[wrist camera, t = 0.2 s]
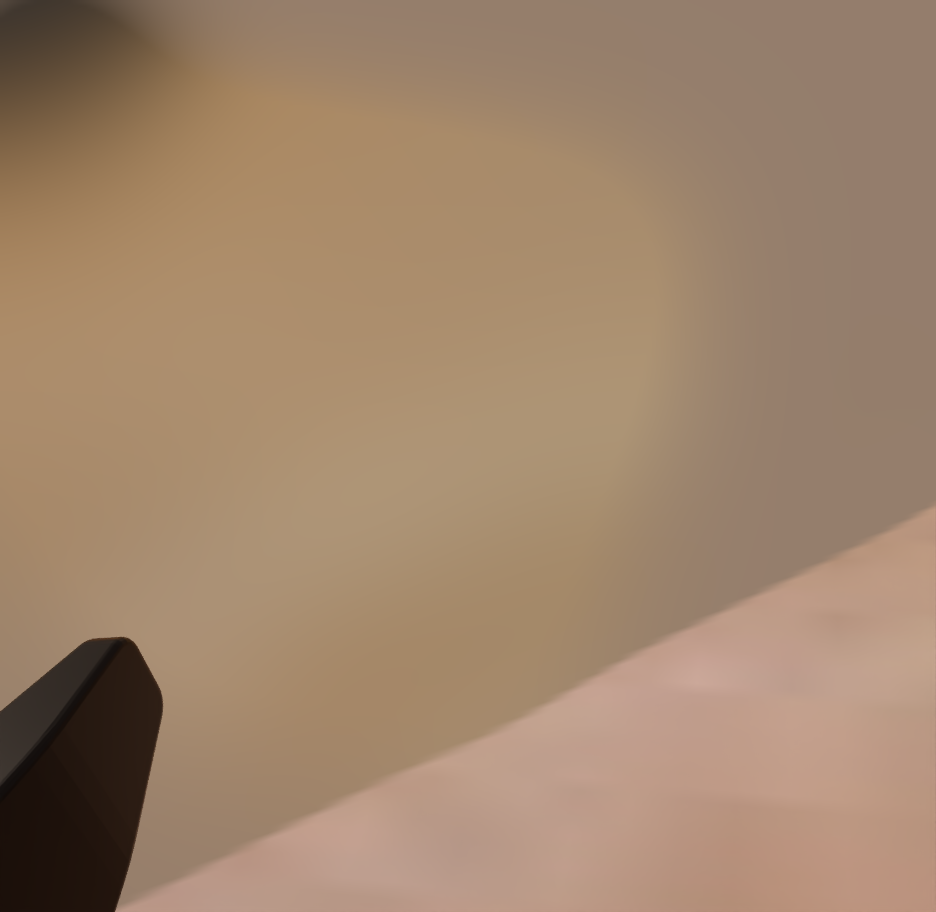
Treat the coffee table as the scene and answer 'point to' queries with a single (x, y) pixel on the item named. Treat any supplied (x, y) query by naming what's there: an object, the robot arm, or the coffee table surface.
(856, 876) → the coffee table surface
